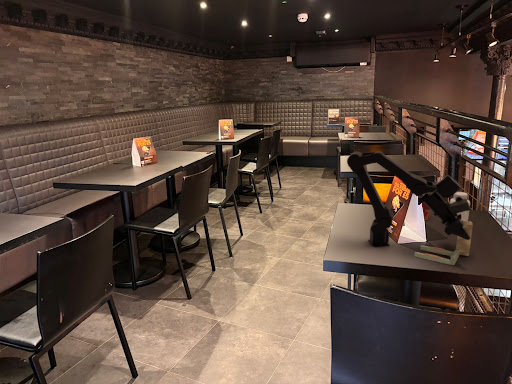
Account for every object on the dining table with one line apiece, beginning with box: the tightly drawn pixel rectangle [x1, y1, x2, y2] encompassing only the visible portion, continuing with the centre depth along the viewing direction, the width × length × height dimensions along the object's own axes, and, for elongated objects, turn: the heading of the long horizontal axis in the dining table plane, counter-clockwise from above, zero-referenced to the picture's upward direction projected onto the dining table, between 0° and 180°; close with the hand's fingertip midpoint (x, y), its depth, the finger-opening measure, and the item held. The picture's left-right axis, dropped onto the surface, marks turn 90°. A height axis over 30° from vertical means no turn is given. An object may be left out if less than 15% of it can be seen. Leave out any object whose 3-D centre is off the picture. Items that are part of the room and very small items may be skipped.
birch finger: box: [455, 220, 473, 257], centre depth 136 cm, size 4×4×12 cm
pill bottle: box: [449, 191, 471, 221], centre depth 163 cm, size 8×8×15 cm
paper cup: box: [421, 193, 430, 221], centre depth 174 cm, size 8×8×14 cm
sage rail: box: [413, 244, 460, 266], centre depth 136 cm, size 13×8×3 cm, turn 51°
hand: (468, 236), depth 135 cm, fingers closed on birch finger, 4 cm apart
